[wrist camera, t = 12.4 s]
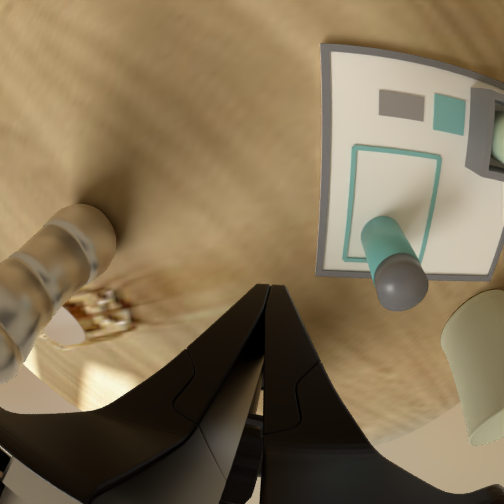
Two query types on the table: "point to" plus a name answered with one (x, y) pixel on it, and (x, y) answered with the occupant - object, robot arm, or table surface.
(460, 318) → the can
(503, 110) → the activity board
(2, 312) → the plastic bottle
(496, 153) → the key
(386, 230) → the teal cylinder
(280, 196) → the table surface
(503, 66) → the table surface
